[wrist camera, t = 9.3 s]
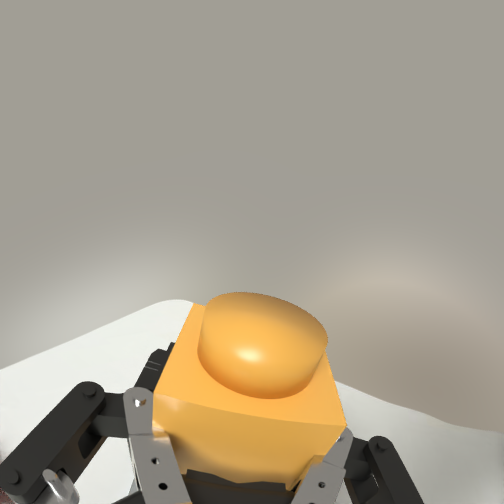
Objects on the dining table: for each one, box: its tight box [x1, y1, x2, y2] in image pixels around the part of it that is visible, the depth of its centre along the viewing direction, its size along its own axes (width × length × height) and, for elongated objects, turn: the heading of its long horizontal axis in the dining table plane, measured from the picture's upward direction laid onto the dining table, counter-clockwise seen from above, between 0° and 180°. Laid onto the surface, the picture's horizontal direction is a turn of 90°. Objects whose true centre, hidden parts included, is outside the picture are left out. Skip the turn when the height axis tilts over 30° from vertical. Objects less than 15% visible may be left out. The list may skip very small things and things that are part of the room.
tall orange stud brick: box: [152, 292, 347, 490], centre depth 12 cm, size 6×6×11 cm
